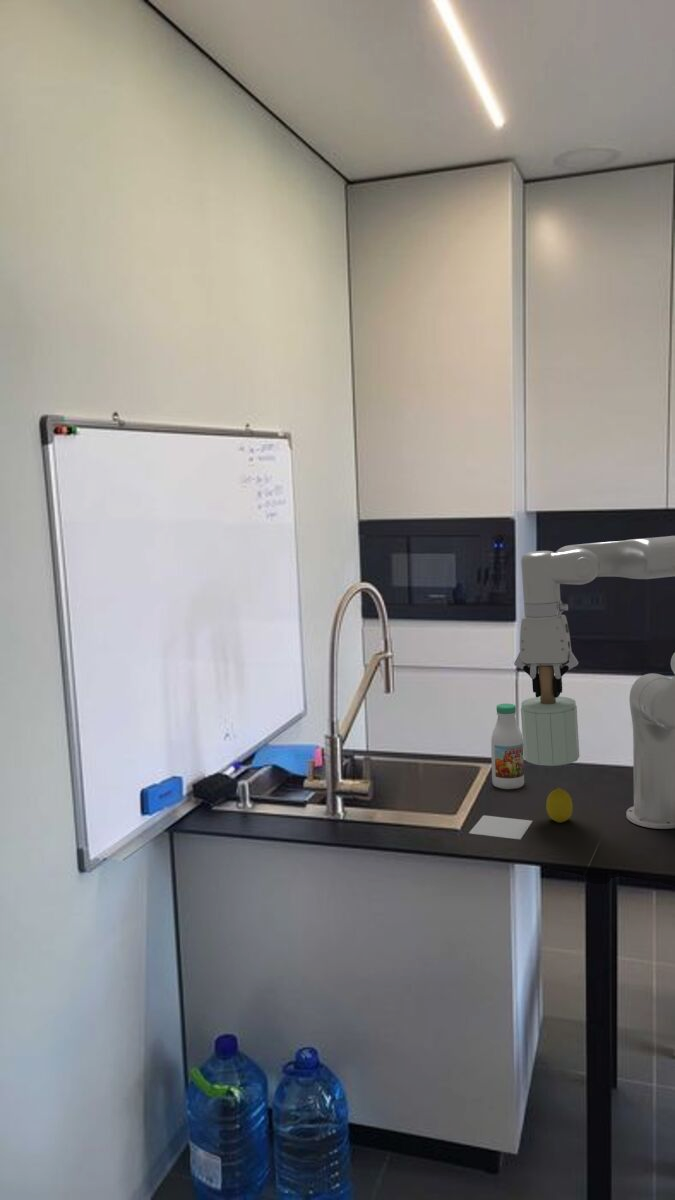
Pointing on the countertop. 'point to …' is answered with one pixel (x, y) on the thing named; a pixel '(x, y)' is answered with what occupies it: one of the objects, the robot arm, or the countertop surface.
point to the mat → (501, 827)
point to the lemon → (559, 805)
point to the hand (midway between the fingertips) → (547, 695)
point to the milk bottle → (507, 750)
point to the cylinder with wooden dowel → (549, 725)
